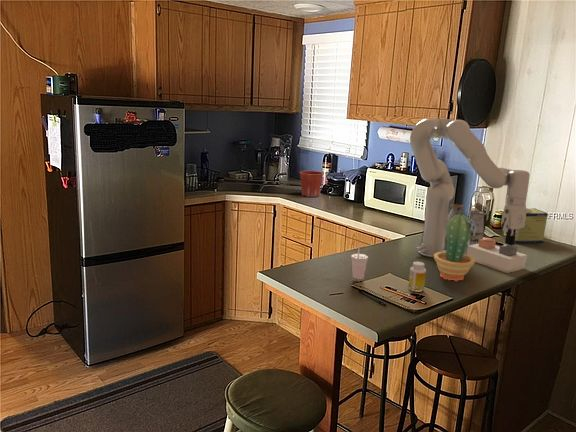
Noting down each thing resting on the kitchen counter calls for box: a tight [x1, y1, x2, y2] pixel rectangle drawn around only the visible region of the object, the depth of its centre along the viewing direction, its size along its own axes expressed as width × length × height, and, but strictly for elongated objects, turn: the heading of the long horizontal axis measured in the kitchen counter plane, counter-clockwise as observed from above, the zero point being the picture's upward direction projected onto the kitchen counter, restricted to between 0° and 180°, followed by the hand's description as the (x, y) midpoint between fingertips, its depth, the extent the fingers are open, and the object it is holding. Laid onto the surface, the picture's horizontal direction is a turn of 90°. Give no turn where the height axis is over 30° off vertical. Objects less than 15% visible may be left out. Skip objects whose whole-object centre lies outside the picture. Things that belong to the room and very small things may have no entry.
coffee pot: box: [447, 203, 464, 223], centre depth 257 cm, size 21×12×15 cm, turn 164°
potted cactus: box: [433, 214, 477, 282], centre depth 188 cm, size 15×16×25 cm
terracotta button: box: [479, 237, 497, 250], centre depth 211 cm, size 5×5×6 cm
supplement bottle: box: [408, 261, 427, 291], centre depth 175 cm, size 6×6×10 cm
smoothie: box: [350, 244, 369, 279], centre depth 182 cm, size 6×6×14 cm
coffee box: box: [466, 210, 488, 247], centre depth 232 cm, size 9×6×16 cm
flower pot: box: [299, 170, 324, 198], centre depth 334 cm, size 16×16×16 cm
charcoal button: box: [499, 243, 518, 256], centre depth 203 cm, size 5×5×6 cm
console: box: [466, 244, 528, 274], centre depth 208 cm, size 12×20×6 cm, turn 32°
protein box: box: [503, 207, 549, 244], centre depth 243 cm, size 10×16×16 cm
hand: (509, 244), depth 202 cm, fingers closed
